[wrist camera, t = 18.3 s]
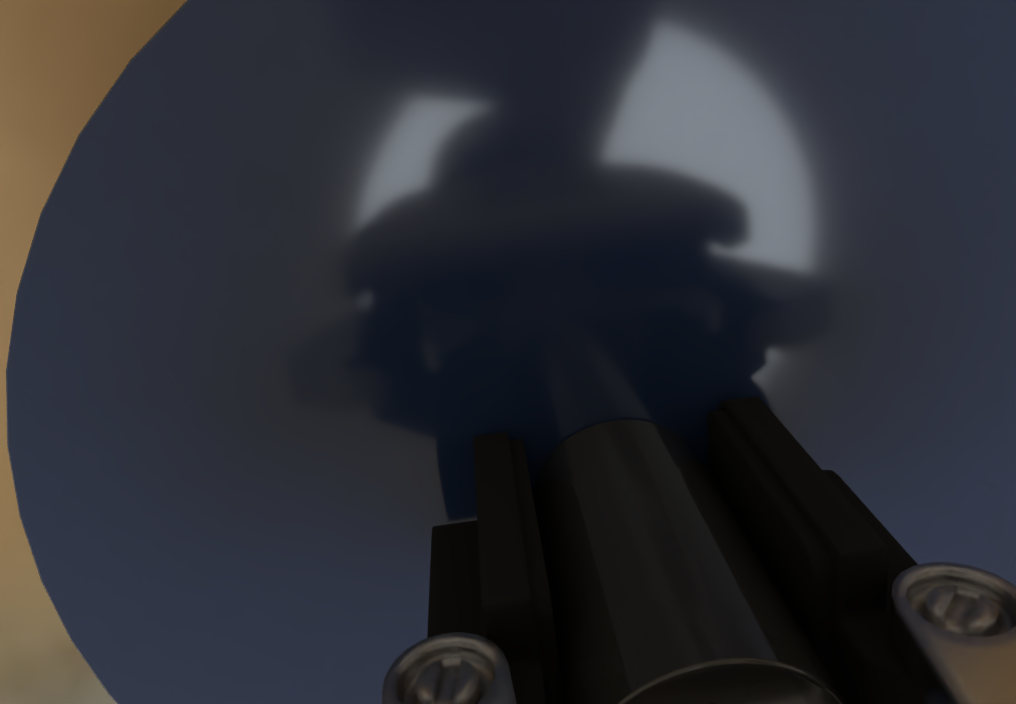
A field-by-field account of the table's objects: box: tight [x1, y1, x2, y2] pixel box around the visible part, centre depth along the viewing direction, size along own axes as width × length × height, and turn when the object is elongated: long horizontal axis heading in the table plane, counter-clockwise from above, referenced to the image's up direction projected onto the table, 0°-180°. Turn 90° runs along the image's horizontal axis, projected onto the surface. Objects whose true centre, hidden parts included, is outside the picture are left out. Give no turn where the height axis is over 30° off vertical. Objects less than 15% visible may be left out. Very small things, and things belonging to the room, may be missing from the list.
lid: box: [6, 0, 1016, 704], centre depth 11 cm, size 18×18×6 cm
